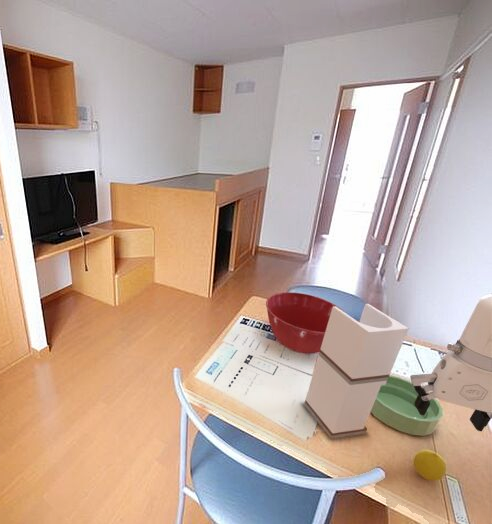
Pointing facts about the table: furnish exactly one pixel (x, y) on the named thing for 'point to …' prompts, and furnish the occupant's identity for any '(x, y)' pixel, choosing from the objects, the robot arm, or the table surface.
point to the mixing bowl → (299, 320)
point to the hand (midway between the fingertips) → (446, 417)
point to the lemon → (429, 465)
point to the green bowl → (405, 408)
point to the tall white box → (352, 369)
